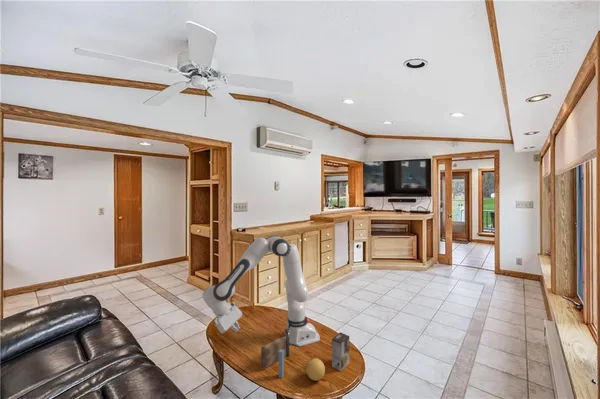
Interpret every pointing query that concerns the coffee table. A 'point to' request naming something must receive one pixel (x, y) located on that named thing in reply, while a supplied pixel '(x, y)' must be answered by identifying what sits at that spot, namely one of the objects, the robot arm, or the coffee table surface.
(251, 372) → the coffee table surface
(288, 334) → the hinge post
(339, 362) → the coffee box
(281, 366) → the post
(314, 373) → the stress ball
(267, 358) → the wooden gate panel
